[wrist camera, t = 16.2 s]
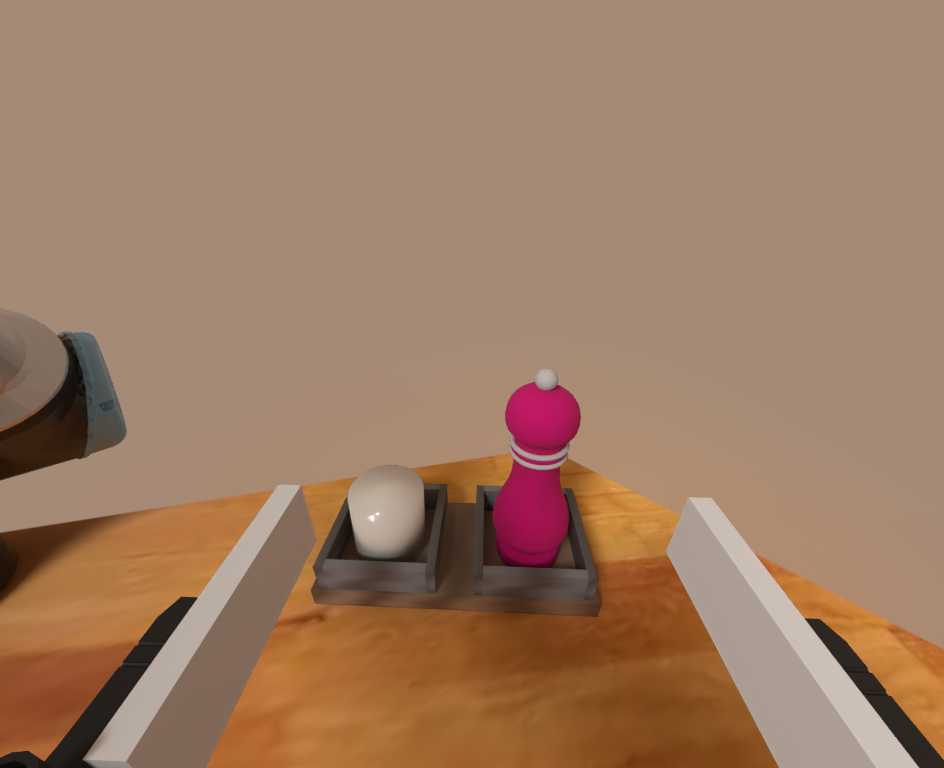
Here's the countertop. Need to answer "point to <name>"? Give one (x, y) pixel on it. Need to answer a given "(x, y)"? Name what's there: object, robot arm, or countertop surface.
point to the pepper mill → (536, 473)
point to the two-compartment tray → (459, 566)
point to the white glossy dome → (388, 514)
